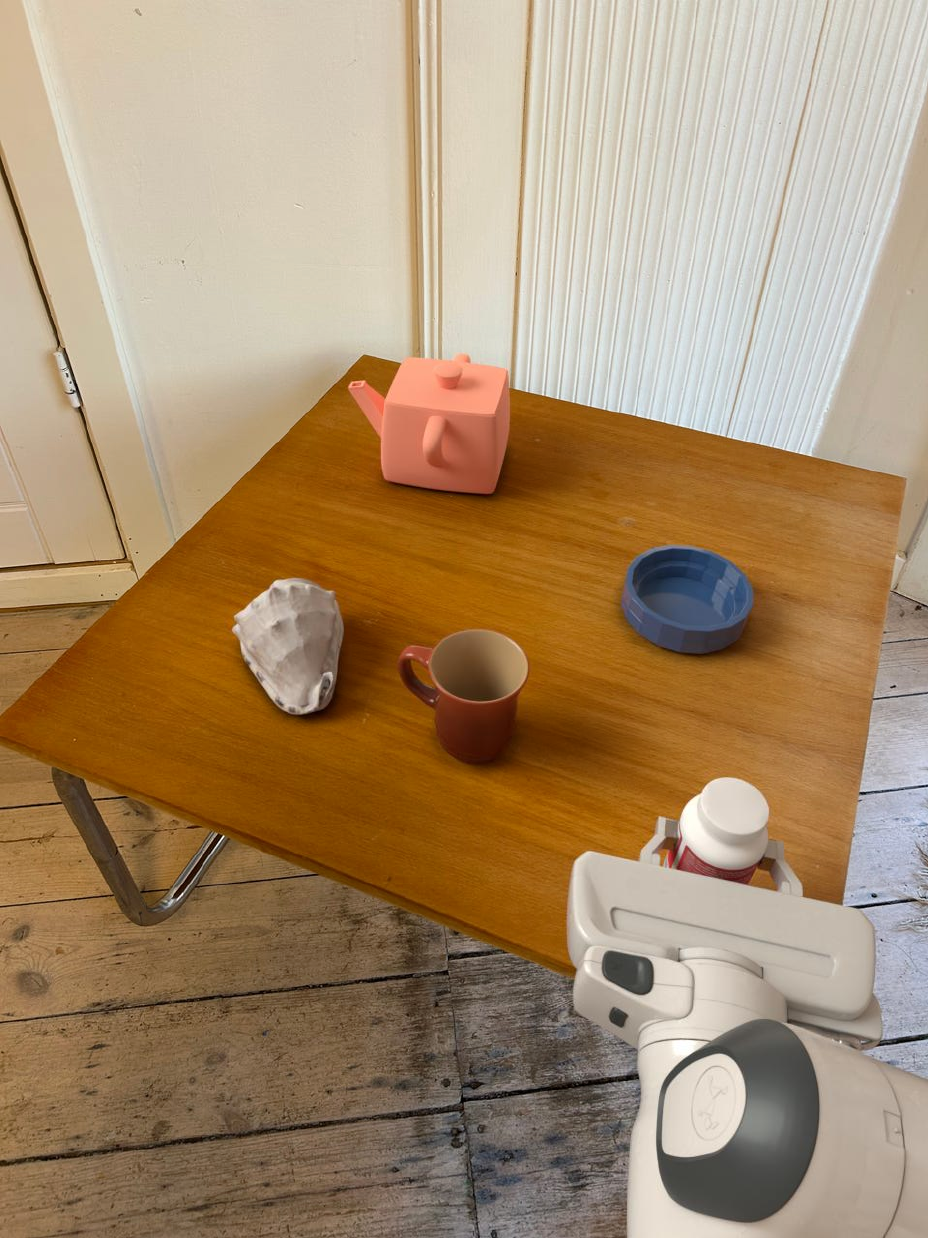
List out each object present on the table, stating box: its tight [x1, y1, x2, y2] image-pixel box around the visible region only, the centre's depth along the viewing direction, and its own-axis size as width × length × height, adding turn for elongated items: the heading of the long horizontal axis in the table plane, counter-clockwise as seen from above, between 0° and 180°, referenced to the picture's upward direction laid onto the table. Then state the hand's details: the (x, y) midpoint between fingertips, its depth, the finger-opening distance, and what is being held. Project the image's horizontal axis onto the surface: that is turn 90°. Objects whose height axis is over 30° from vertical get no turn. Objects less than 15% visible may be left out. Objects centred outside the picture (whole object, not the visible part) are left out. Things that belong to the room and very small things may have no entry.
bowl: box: [620, 544, 754, 654], centre depth 93 cm, size 13×14×4 cm
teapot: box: [347, 352, 511, 495], centre depth 108 cm, size 20×22×14 cm
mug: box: [397, 628, 530, 764], centre depth 78 cm, size 12×9×10 cm
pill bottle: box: [662, 776, 770, 885], centre depth 63 cm, size 6×6×11 cm
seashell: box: [231, 577, 345, 716], centre depth 84 cm, size 12×14×10 cm
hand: (717, 832), depth 63 cm, fingers closed on pill bottle, 6 cm apart
